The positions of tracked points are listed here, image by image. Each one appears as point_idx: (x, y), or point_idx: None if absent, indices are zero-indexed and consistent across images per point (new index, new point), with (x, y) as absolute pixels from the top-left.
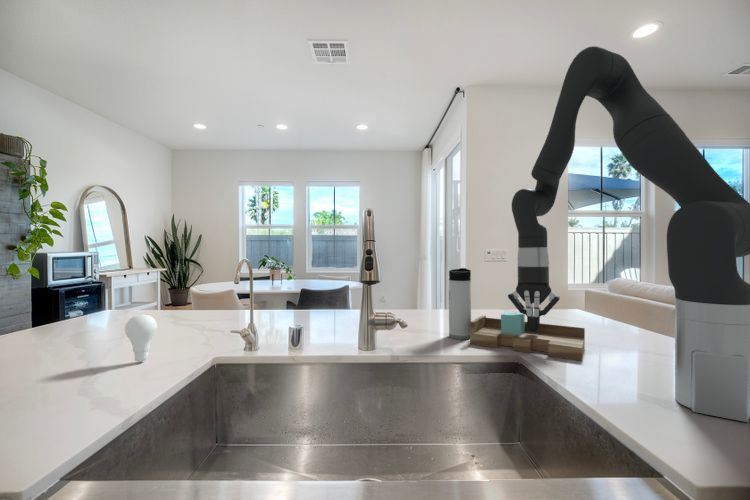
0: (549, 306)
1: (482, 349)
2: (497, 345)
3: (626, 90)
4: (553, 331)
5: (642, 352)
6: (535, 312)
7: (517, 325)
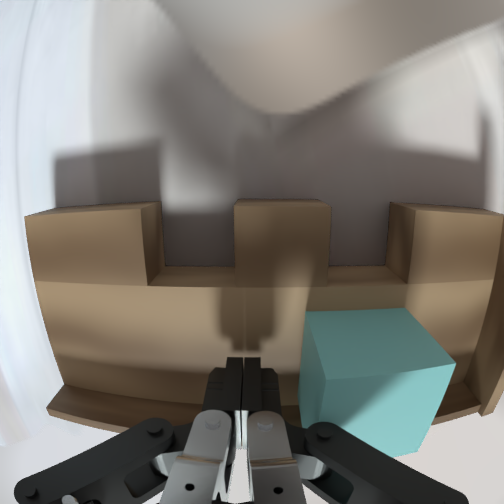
0: (97, 462)
1: (433, 151)
2: (393, 215)
3: None
4: (164, 411)
5: (3, 387)
6: (215, 434)
7: (334, 337)
